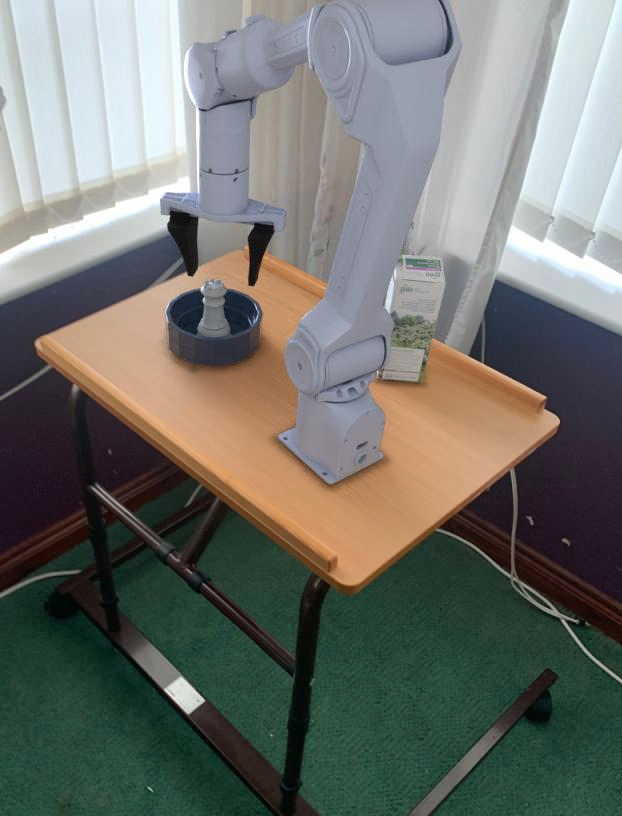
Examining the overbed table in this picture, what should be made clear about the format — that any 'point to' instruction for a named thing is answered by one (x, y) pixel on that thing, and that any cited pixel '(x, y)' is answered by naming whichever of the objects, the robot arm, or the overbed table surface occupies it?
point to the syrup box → (413, 315)
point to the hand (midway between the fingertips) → (222, 277)
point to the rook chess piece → (213, 310)
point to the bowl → (210, 350)
